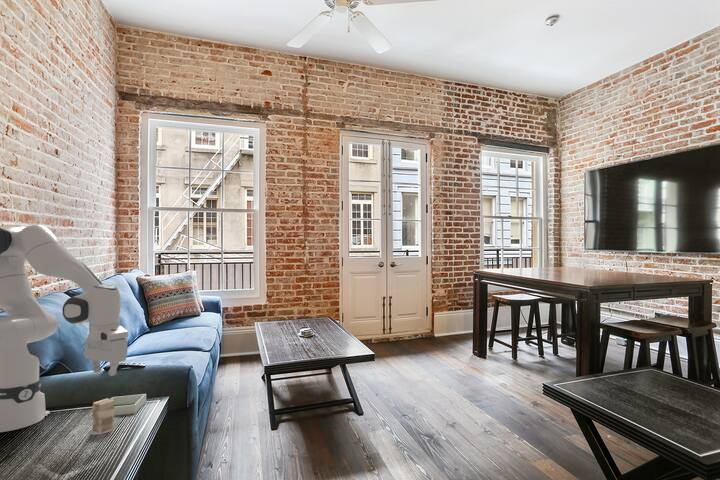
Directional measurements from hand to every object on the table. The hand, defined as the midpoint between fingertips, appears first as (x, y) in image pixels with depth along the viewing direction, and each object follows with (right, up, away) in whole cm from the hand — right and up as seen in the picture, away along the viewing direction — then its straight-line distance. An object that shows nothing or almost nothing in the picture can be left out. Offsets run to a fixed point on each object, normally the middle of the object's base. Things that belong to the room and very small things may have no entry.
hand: (104, 373), depth 124 cm
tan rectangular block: (0, -18, -1) cm, 18 cm away
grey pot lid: (0, -19, -1) cm, 19 cm away
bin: (-4, -20, +16) cm, 26 cm away
